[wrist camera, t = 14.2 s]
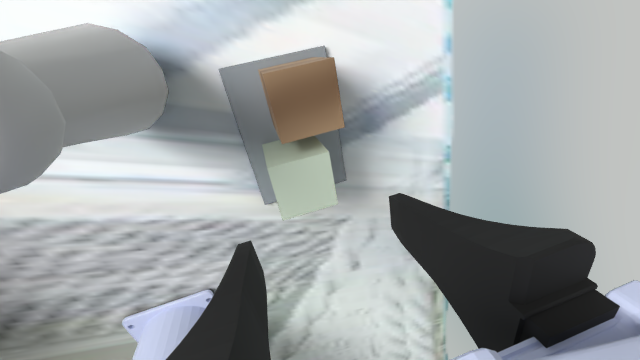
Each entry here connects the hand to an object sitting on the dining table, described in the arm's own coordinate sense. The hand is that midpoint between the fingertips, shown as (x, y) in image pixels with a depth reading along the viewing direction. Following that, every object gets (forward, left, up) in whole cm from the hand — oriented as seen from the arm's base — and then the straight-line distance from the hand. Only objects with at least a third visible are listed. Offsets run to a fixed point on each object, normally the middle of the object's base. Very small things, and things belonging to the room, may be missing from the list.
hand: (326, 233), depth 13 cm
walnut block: (+5, -1, -10) cm, 11 cm away
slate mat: (+2, 0, -10) cm, 11 cm away
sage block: (0, 0, -10) cm, 10 cm away
